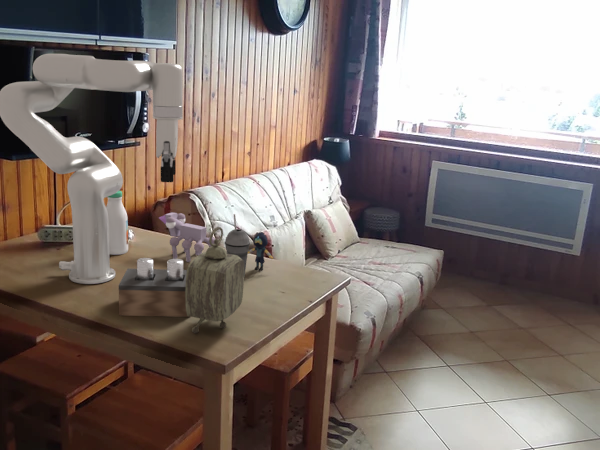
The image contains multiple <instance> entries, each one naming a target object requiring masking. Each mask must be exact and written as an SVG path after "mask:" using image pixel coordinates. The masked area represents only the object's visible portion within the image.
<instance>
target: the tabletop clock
mask: <svg viewBox="0 0 600 450" xmlns="http://www.w3.org/2000/svg"><path fill="white" fill-rule="evenodd" d="M217 231H220V233H221V234H220V237H219V239H217V238H215V240H214V244H212V242H211V240H212V237H214V235H215V233H216V232H217ZM209 237H210V240H209V242H210V245H211V247H209V246H208V248H207V249H206V250H205V251H204V252H202V254H200V255H196V257H195V258H193V259H192V260H191V261H190V262H189V264H188V265H187V269H186V270H187V275H186V290H185V299H186V313H187V316H190V317H192V318H196V319H199V320H198V322H197V325H196V326H193V327H192V329H191V331H192V333H193V334H198V333H199V330H200V328H199V327H200V326H201V325H202V323H203V322H204V321H205V320H207V321H211V322H212V321H213V322H220V323H219V327H220V328H221V329H225V328H226V327H227V323H226V322H225V321H224V320H226V319H228V318H229V317H231V316H232V315H233V314H234V313H235V312H236V311H237V310H238V309H239V308H240V306H241V305H242V302H243V297H244V283H245V276H244V261H243V260H242V259H241V258H240V257H239V256H237V255H232V254H227V252H226V248H224V247H222V245H219V244H220V243H222V242H221V241H222V240H223V237H224V230H223V228H222V227H221V226H217V227H215V228H214V229H213V230H212V231H211V233H210V235H209Z"/></svg>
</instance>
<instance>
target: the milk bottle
mask: <svg viewBox="0 0 600 450" xmlns="http://www.w3.org/2000/svg"><path fill="white" fill-rule="evenodd" d="M106 198H107V202H106V203H107V204H106V205H105V206H106V209H107V212H108V224H109V255H110V256H112V255H114V256H116V255H117V256H118V255H123V254H126V253H128V251H129V224H128V223H129V222H128V221H129V220H128V219H129V218H128V214H127V210H126V208H125V207H124V205H123V202H122V201H123V200H122V199H123V191H121V190H119V191H118V192H117V193H115V194H113V195H111V196H108V197H106Z"/></svg>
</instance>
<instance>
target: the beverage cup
mask: <svg viewBox="0 0 600 450" xmlns="http://www.w3.org/2000/svg"><path fill="white" fill-rule="evenodd" d="M236 220H237V219H236V214H235V213H234V214H233V224H234V229H232V230H231V231H229V232H228V233H227V234H226V237H225V241H224V246H225V251H226V253H227V254H232V255H237V256H239V257H240V258H241V259H242V260H243V261H244V277H245V276H246V268H247V261H248V260H247V258H248V255H249V254H248V251H249V250H250V249H249V248H250V244H251V241H250V237H249V234H248V233H247V232H246V231H244V230H243V229H239V228H237V221H236Z"/></svg>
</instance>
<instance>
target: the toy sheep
mask: <svg viewBox="0 0 600 450" xmlns="http://www.w3.org/2000/svg"><path fill="white" fill-rule="evenodd" d="M158 219H159V220H160V221H161V222H163V224H165V226H166V228H168V231H169V234H170V237H171V238H170V239H169V244H170V245H171V250H172V251H171V252H172V259H178V250H177V249H178V248H177V247H178V246H179V244H180V241H182V240H183V239H184V240H183V241H182V242H181V247H182V248H183V253H185V259H186V260H185V261H186V263H191V261H192V260H191V251H190V249H191V248H192V243H193V241H195V242H196V243H195V244H194V246H193V248H194V254H195V256H198V255H200V254H202V253H203V251H204V248H205V245H204V244H203V242H205V243H206V244H207V245H208V248H209V247H211V245H210V242H209V240H210V236H208V237H207V226H201V225H197V224H191V223H187V222H186V215H185V214H184V213H181V212H180V213H177V212H169V213H166V214H164V215H162V216H159V217H158ZM185 222H186V223H185ZM215 239H216V238H215V237H214V236H213V237H212V240H211V242H212V244H214V240H215Z"/></svg>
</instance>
